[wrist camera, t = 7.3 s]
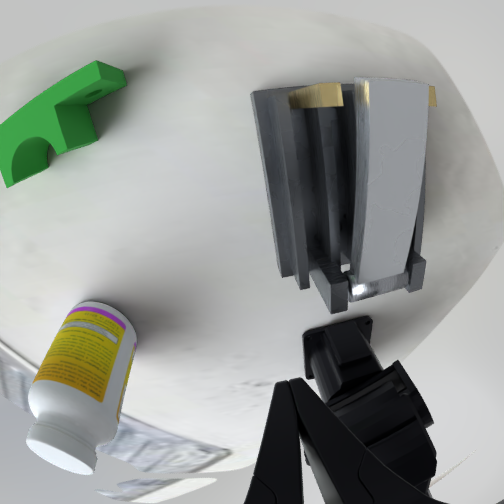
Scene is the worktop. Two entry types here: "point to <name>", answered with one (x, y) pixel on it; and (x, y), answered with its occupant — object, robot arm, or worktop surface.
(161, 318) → the worktop surface
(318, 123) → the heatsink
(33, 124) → the pipe clamp
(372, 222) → the silver metal bar
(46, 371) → the supplement bottle
